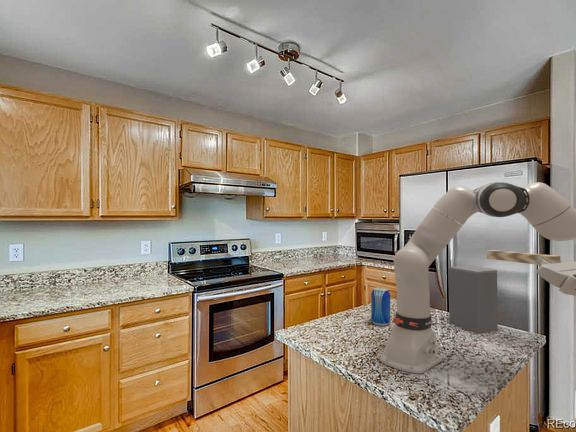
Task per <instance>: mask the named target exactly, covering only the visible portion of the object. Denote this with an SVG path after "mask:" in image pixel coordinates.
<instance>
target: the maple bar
mask: <svg viewBox="0 0 576 432" xmlns="http://www.w3.org/2000/svg"><path fill="white" fill-rule="evenodd" d="M538 257H542V258H544V259H545V261H546V262H548V263H550V264H553V263H560V261H561V255H554V254H552V255H551V254H541V253H531V252H519V251H512V250H511V251H510V250H509V251H508V250H501V249H500V250H498V249H487V250H486V259H489V260H496V261H503V262H505V261H506V262H511V263H521V264H529V265H537V266H541V264H540V263H538V262H537V261H536V260H537V258H538Z"/></svg>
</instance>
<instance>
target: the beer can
mask: <svg viewBox="0 0 576 432" xmlns="http://www.w3.org/2000/svg"><path fill="white" fill-rule="evenodd" d="M370 295H371V296H370V299H371V300H370V301H371V302H370V304H371V308H370V309H371V310H370V312H371V314H370V315H371V322H372V324H374V325H375V326H378V327H386V326H387V327H388V326H389V324H390V323H391V294H390V291H389V289H388V288H386V287H381V286H380V287H379V286H378V287H373V288H372V291H371V294H370Z"/></svg>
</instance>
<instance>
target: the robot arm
mask: <svg viewBox="0 0 576 432" xmlns="http://www.w3.org/2000/svg"><path fill="white" fill-rule="evenodd" d="M477 213H482V214H484V215H486V216H487V217H488V216H489V217H492V218H505V217H509V216H510V217H511V216H513V215H516V214H519V215H521V216H522V217H524V218H525V220H527V222H528V223H529V224H530V225H531V226H532V227H533V229H534V230H535V231H536V232H537V233H538V234H540V235H541V236H542V237H543V238H545V239H547V240H551V241H554V242H555V241H556V242H565V241H566V242H567V241H573V240H576V208H575V207H574V206H573V205H572V204H571V203H570V202H569V201H568V200H567V199H566V198H564V196H562V195H561V194H560V193H559V192H558V191H556V190H555V189H554V188H553V187H551V186H549V185H548V184H546V183H544V182H539V181H537V182H531V183H528V184H525V185H524V186H522V187H520V186H518V185H514V184H512V183H508V182H502V181H500V182H498V181H497V182H490V183H487V184H484V185H482V186H479V187H478V188H475V189H473V190H472V189H470V188H469V187H466V186H463V185H455V186H453V187H451V188H450V189H449V190H447V191H446V192H445V193H444V194H443V195H442V196H441V197H440V198H439V199H438V200H437V202H436V203H435V204H434V205H433V207H432V208H431V210H430V211H429V212H428V213H427V214H426V216H425V217H424V219H423V220H422V221H421V222H420V224H419V225H418V226H417V228H416V230H415V231H414V233H413V234H412V235H411V237H410V238H409V240H408V241H407V243H405V245H404V246H403V247H401V248H400V249H399V250H397V251H396V252H395V255H394V256H393V267H394V268H393V269H394V279H395V286H396V312H395V314H394V317H393V318H392V323H393V327H392V330H391V332H390V335H389V337H388V340H387V344H386V346H385V348H384V350H383V352H382V353H381V355H380V357H379V361H380V362H381V363H382V364H384V365H386V366H388V367H391V368H394V369H396V370H399V371H403V372H406V373H407V372H408V373H410V374H411V373H412V374H424V373H425V372H426V371H428V370H429V369H432V367H434V366H436V365H437V364H439V363H441V362H442V361H443V357H442V356H441V355H440V354H438V345H437V334H436V333H435V331H434V330H433V328H432V322H433V318H432V315H431V291H430V290H431V289H430V277H429V269H430V268H429V267H430V266H431V265H432V263H433V262H434V261H435V260H436V259H437V257H438V256H440V254H441V253H442V252H443V251H444V249H445V248H446V247H447V245H448V244H449V243H450V242H451V240H452V239H453V238H454V237H455V236H456V235H457V234H458V232H459V231H460V230H461V229H462V227H463V226H464V225H465V223H466V222H467V220H469V219H470V218H471V217H472V216H473V215H474V214H477ZM536 261H537V262H538V263H540V264H541V265H539V267H538V269H537V270H536V273H537V275H538V276H539V277H541V278H542V279H543V280H545V281H546V282H548V283H549V284H550V285H553V287H556V288H557V289H558V291H560V292H561V293H562V294H565V295H567V296H568V295H569V296H574V297H576V261H566V262H564V261H562V260H560V263H553V264H550V263H548V262H546V261H545V259H544V258H542V257H538V258H537V260H536Z"/></svg>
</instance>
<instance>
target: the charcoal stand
mask: <svg viewBox="0 0 576 432" xmlns="http://www.w3.org/2000/svg"><path fill="white" fill-rule="evenodd" d="M448 289H449V291H448V293H449V295H448V301H449V302H448V304H449V307H448V308H449V309H448V311H449V313H448V315H449V317H448V318H449V324H451V325H453V326H456V327H459V328H461V329H464V330H466V331H469V332H471V333H474V334H477V335H480V334H484V333H489V332H495V331H498V326H499V325H498V324H499V323H498V322H499V320H498V319H499V318H498V270H497V269H492V268H486V267H479V266H474V265H459V266H458V265H456V266H448Z"/></svg>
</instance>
